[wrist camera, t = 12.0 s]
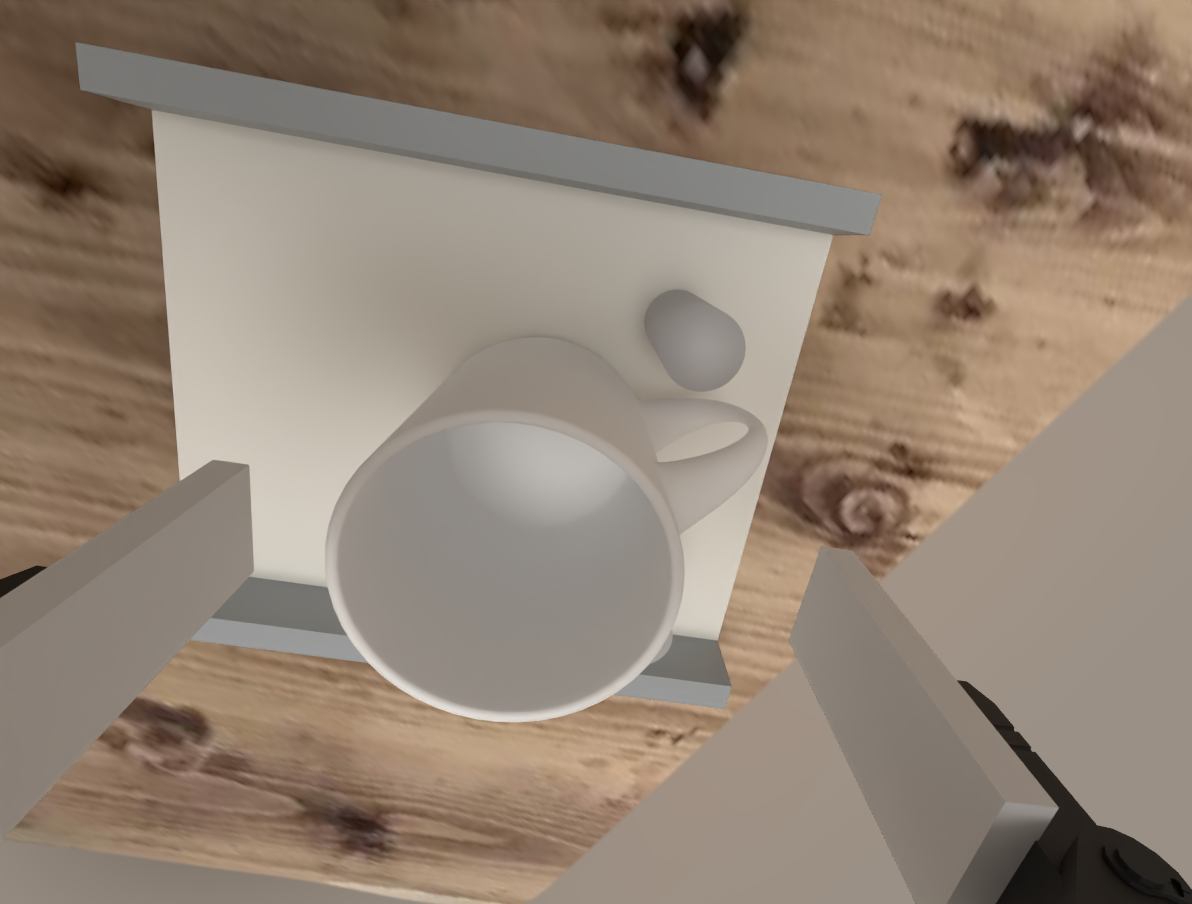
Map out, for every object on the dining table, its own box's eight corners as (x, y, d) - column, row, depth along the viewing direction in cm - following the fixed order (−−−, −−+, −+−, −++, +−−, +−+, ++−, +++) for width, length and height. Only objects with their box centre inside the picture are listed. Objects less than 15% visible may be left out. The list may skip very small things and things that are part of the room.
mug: (747, 481, 25) (852, 647, 15) (479, 554, 26) (408, 755, 16) (700, 276, 22) (790, 312, 12) (401, 369, 23) (256, 472, 13)
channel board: (172, 77, 21) (-28, 3, 14) (830, 201, 22) (933, 187, 16) (204, 576, 28) (80, 687, 21) (706, 644, 29) (741, 768, 23)
